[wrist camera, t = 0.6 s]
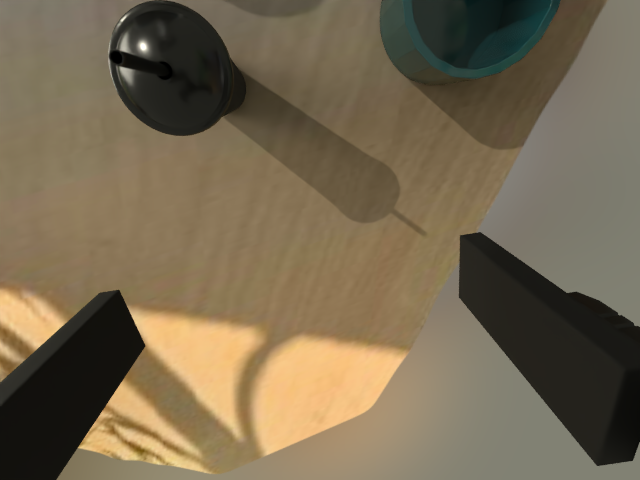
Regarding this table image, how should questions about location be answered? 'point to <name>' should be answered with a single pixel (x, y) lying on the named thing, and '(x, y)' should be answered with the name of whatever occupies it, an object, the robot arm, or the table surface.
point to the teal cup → (461, 36)
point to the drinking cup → (173, 68)
